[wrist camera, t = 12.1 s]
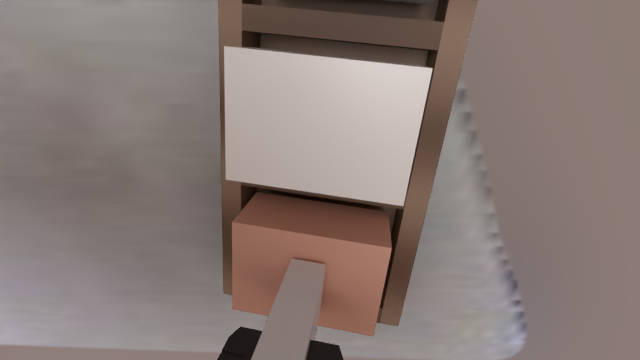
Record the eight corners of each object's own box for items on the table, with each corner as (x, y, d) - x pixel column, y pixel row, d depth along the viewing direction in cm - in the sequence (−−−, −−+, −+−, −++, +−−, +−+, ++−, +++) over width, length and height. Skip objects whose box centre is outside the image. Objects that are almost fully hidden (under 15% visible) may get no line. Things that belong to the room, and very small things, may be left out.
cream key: (256, 47, 14) (223, 46, 11) (419, 64, 13) (432, 68, 10) (254, 154, 16) (225, 179, 13) (397, 175, 15) (403, 206, 12)
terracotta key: (257, 191, 17) (231, 222, 14) (388, 212, 16) (391, 248, 13) (255, 267, 19) (232, 309, 16) (373, 288, 18) (373, 336, 15)
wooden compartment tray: (246, -180, 14) (214, -239, 11) (499, -172, 12) (534, -236, 10) (242, 262, 22) (223, 293, 19) (394, 289, 21) (398, 326, 18)
